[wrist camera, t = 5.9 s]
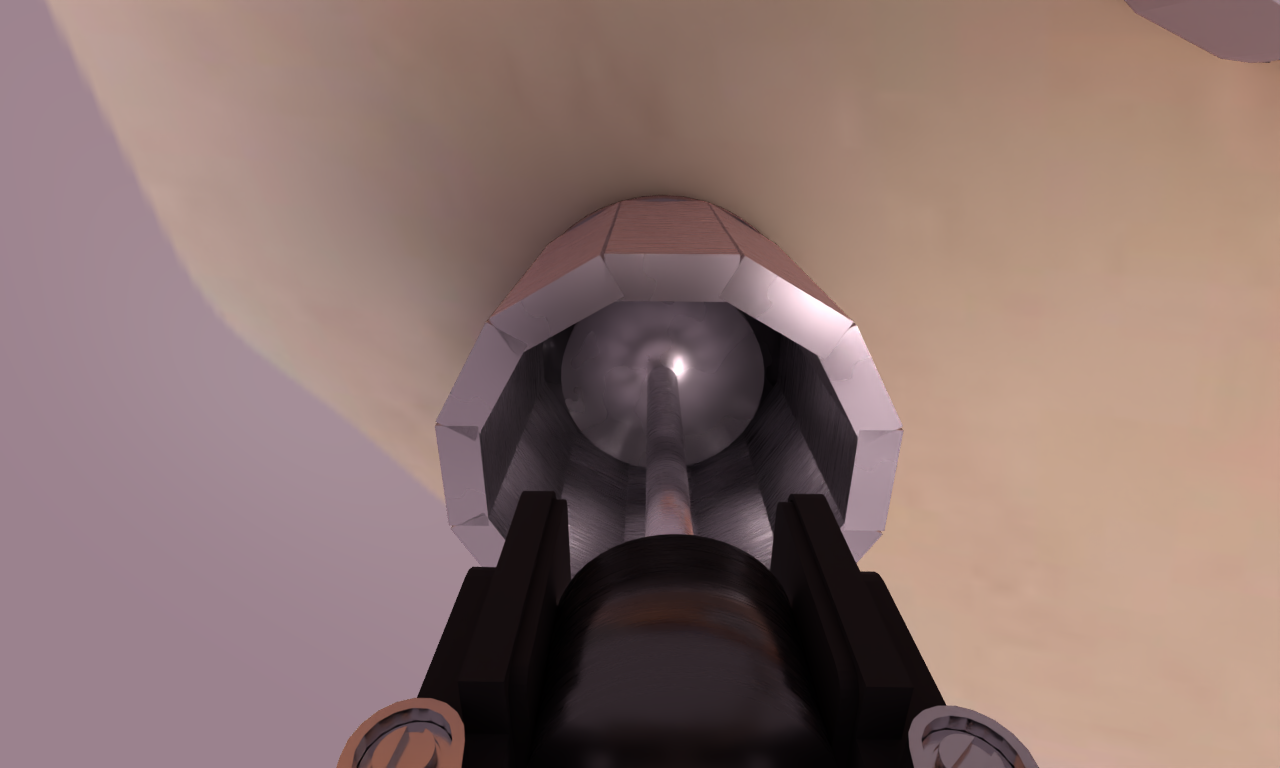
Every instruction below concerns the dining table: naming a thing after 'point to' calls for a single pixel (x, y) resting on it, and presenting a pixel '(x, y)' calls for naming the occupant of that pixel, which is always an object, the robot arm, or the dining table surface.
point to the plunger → (672, 568)
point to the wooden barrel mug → (718, 486)
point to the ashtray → (1220, 25)
